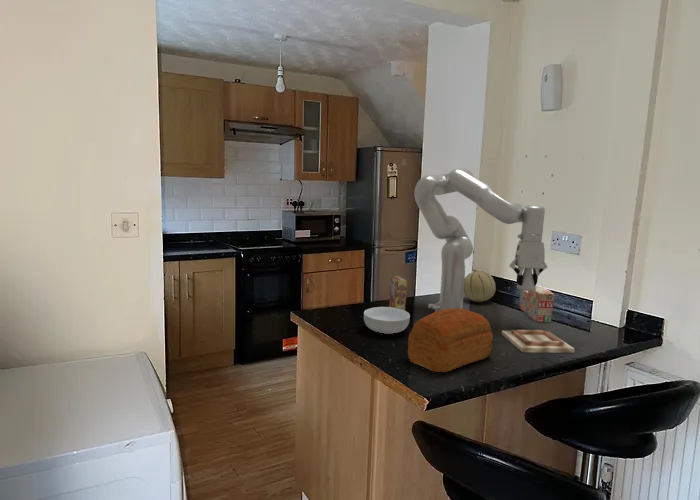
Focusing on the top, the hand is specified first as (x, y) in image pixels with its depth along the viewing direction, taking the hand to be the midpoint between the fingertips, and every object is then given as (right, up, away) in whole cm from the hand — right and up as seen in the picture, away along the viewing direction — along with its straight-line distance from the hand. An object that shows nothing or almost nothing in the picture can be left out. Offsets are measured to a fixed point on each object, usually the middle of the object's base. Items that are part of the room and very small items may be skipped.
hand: (526, 284), depth 186 cm
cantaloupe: (-8, -11, +40) cm, 42 cm away
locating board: (-2, -20, -15) cm, 25 cm away
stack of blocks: (+11, -15, +21) cm, 28 cm away
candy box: (-48, -13, +15) cm, 53 cm away
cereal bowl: (-55, -17, -8) cm, 58 cm away
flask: (0, -2, 0) cm, 2 cm away
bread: (-36, -22, -33) cm, 53 cm away
